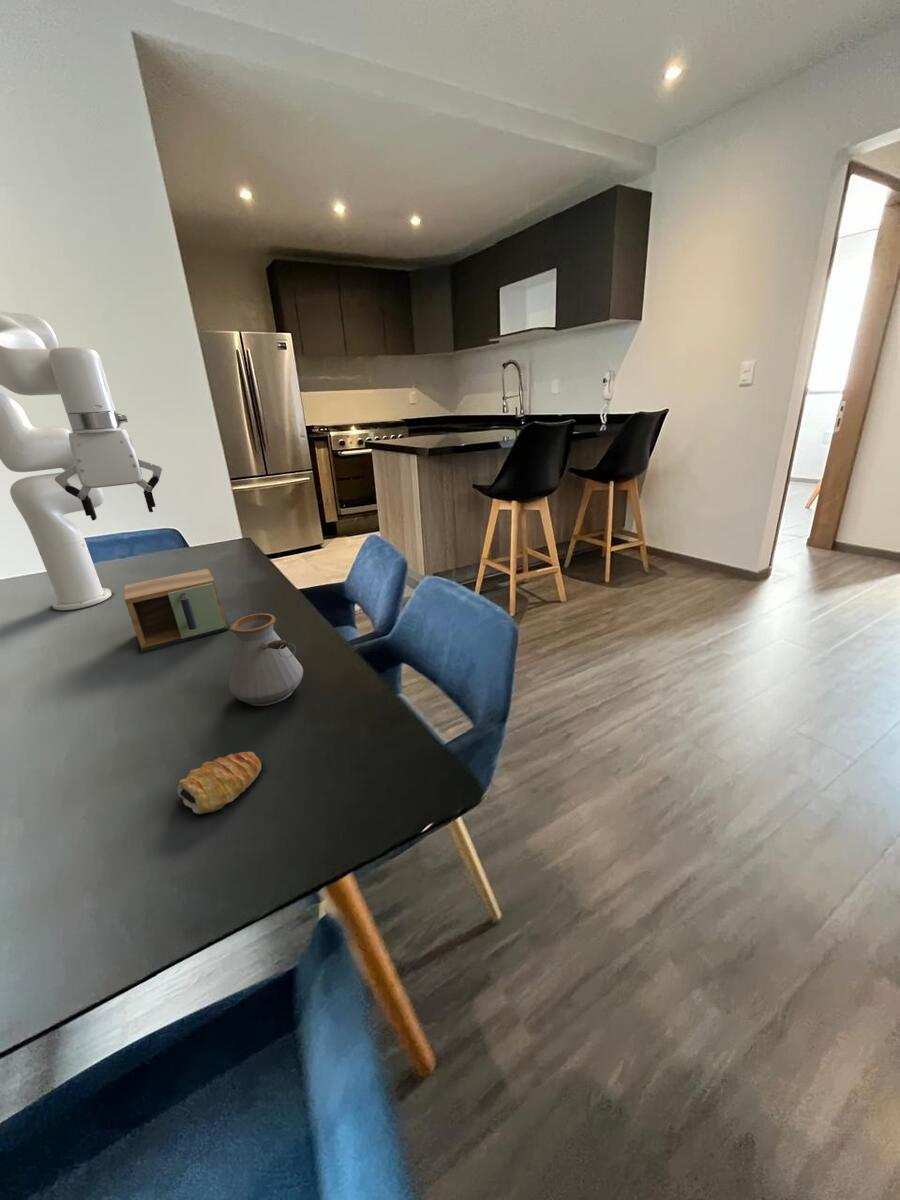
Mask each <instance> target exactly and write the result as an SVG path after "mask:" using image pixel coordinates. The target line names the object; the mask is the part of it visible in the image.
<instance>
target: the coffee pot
mask: <svg viewBox="0 0 900 1200" xmlns="http://www.w3.org/2000/svg"><path fill="white" fill-rule="evenodd" d="M275 623H276V617H275V616H274V614H271V613H254V614H250V615H246V616H243V617H241V618H238V619H236V620H235V621H234V622H233V623H232V624H231V626H230V628H229V631H230V632H232V633H233V634H234V635H235V636H236V637H238V641H237V645H236V650H235V655H234V658H233V663H232V668H231V673H230V677H229V682H228V690H229V692H230V693H231V695H233V697H235V698H236V699H237V700H239V701H241V702H242V703H243V702H244V703H246V704H249V705H251V706H256V707H265V706H271V705H274V704H277V703H280V702H282V701H284V700H286V699H287V698H289V697H290V696H291V695H292V694H293V692H294V691H295V690H296V689H297V688H298V687H299V685H300V684H301V681H302V679H303V677H304V668H303V666H302V665H301V663H300V661H298V659H297V658H296V656H295V653H296V651H297V646H296V645H295V644H294V643H290V642H288V641H287V640H284V639H281V638H280V636H279V635H278V634H277V633H276V631H275V630H274V624H275ZM289 645H292V646H293V647H294V651H293V653H292V651H291V650H290V649H289V648H288V646H289Z"/></svg>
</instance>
